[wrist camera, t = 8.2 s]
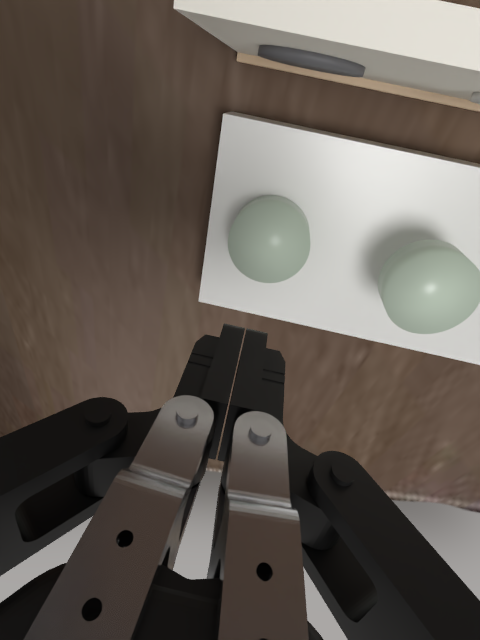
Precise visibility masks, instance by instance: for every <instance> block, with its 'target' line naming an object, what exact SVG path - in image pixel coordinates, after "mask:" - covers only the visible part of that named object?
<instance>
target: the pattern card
mask: <svg viewBox="0 0 480 640" xmlns="http://www.w3.org/2000/svg"><path fill="white" fill-rule="evenodd" d="M174 9H175V10H177V11H178V12H180V13H181V14H182V15H184V16H185V17H187V18H188V19H190V20H191V21H193V22H194V23H196V24H197V25H199V26H200V27H201V28H203V29H204V30H206V31H207V32H209V33H210V34H212V35H213V36H215V37H216V38H218V39H219V40H221V41H222V42H223V43H225V44H226V45H228V46H229V47H231V48H232V49H234V50H235V51H237V52H238V53H237V60H236V61H237V62H240V63H244V64H249V65H254V66H259V67H264V68H269V69H273V70H278V71H283V72H288V73H293V74H297V75H302V76H307V77H312V78H317V79H321V80H326V81H331V82H336V83H341V84H345V85H350V86H355V87H360V88H365V89H370V90H374V91H379V92H384V93H389V94H394V95H398V96H403V97H408V98H413V99H418V100H422V101H427V102H432V103H437V104H442V105H446V106H451V107H456V108H461V109H466V110H470V111H475V112H480V9H479V8H474V7H469V6H464V5H459V4H454V3H449V2H444V1H439V0H174Z"/></svg>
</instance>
